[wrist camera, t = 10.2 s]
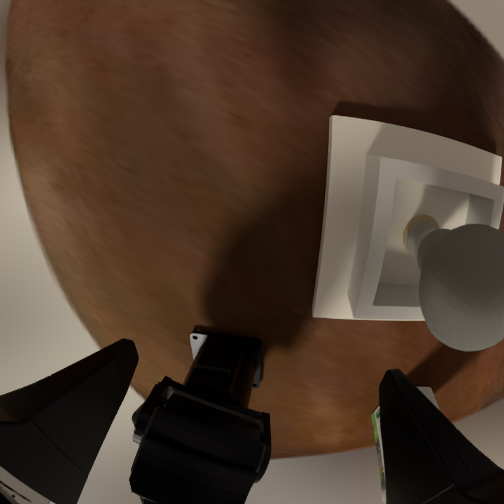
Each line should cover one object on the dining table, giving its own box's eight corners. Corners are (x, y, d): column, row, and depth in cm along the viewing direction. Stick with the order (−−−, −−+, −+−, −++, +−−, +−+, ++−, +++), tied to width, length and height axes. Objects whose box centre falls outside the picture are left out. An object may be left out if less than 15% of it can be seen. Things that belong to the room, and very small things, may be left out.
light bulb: (381, 282, 17) (432, 393, 8) (379, 197, 15) (469, 265, 6) (450, 271, 16) (522, 356, 7) (455, 191, 14) (559, 244, 5)
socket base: (455, 310, 19) (476, 340, 15) (312, 306, 21) (314, 343, 17) (491, 155, 14) (526, 162, 9) (329, 117, 15) (340, 108, 11)
